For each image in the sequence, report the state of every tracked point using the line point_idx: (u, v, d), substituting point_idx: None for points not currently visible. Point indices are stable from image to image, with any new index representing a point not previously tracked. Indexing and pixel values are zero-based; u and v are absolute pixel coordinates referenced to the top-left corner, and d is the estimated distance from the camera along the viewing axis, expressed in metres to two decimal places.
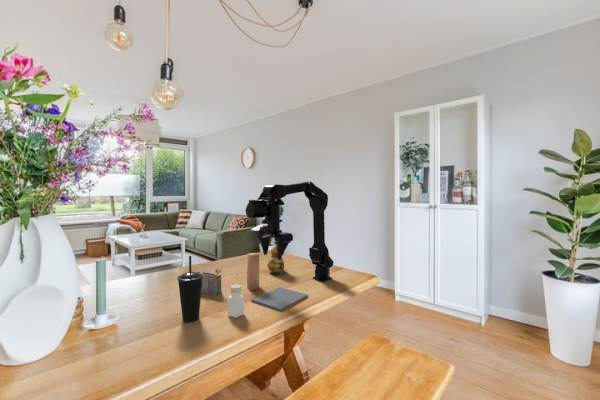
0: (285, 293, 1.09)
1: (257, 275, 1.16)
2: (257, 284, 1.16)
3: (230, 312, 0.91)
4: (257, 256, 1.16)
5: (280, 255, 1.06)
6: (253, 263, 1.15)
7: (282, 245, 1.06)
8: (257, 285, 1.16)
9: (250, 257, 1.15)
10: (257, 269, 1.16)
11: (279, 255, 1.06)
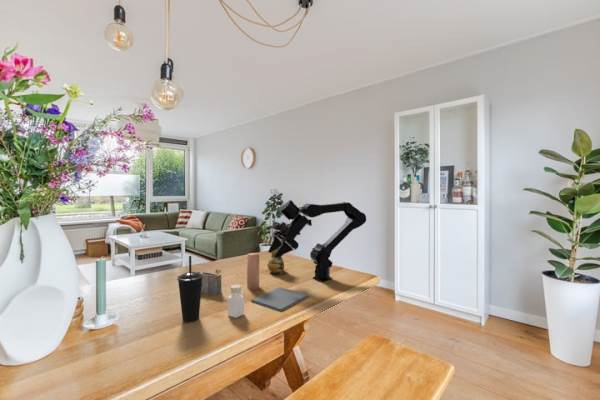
0: (285, 293, 1.09)
1: (257, 275, 1.16)
2: (257, 284, 1.16)
3: (230, 312, 0.91)
4: (257, 256, 1.16)
5: (278, 254, 1.15)
6: (253, 263, 1.15)
7: (285, 248, 1.16)
8: (257, 285, 1.16)
9: (250, 257, 1.15)
10: (257, 269, 1.16)
11: (277, 253, 1.15)
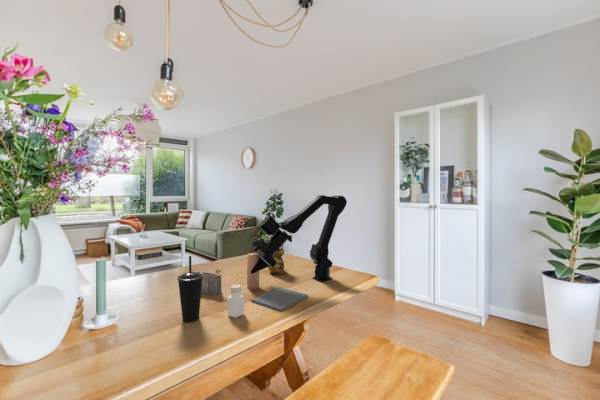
0: (285, 293, 1.09)
1: (257, 275, 1.16)
2: (257, 284, 1.16)
3: (230, 312, 0.91)
4: (257, 256, 1.16)
5: (254, 270, 1.14)
6: (253, 263, 1.15)
7: (261, 264, 1.15)
8: (257, 285, 1.16)
9: (250, 257, 1.15)
10: None
11: (253, 269, 1.14)
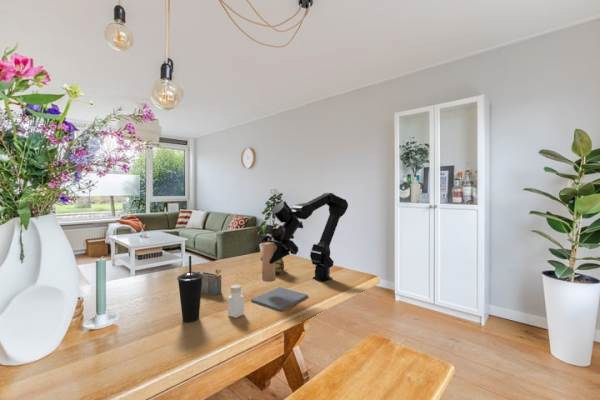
0: (285, 293, 1.09)
1: (274, 265, 1.08)
2: (274, 275, 1.08)
3: (230, 312, 0.91)
4: (274, 245, 1.07)
5: (273, 260, 1.06)
6: (271, 253, 1.06)
7: (280, 253, 1.07)
8: (274, 276, 1.08)
9: (268, 246, 1.06)
10: None
11: (272, 259, 1.05)
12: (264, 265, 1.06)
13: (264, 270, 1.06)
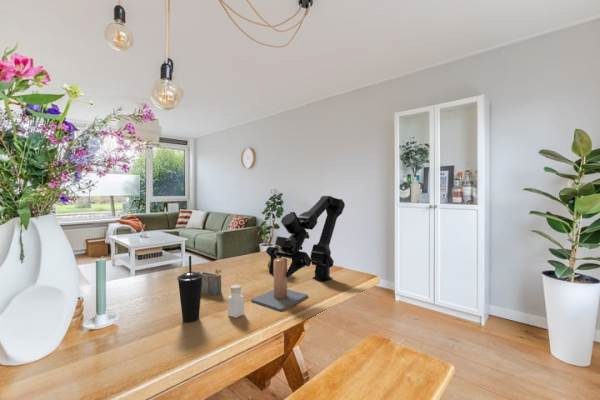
0: None
1: None
2: None
3: (230, 312, 0.91)
4: None
5: (289, 273, 1.02)
6: (284, 270, 1.03)
7: (295, 265, 1.04)
8: None
9: (281, 263, 1.02)
10: None
11: (288, 273, 1.02)
12: (277, 283, 1.03)
13: (277, 288, 1.03)
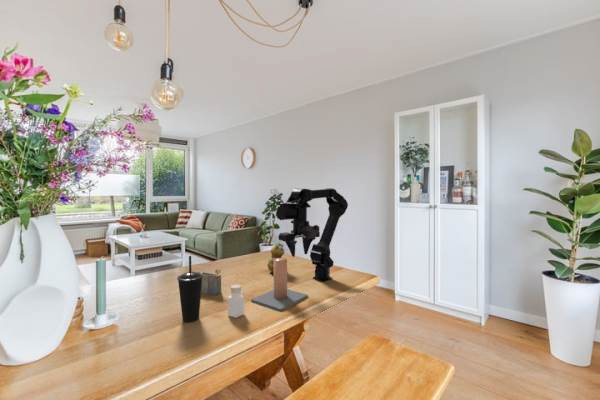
0: None
1: None
2: None
3: (230, 312, 0.91)
4: (286, 261, 1.05)
5: None
6: (284, 269, 1.03)
7: None
8: None
9: (281, 263, 1.03)
10: (286, 275, 1.05)
11: None
12: (277, 282, 1.03)
13: (277, 287, 1.03)
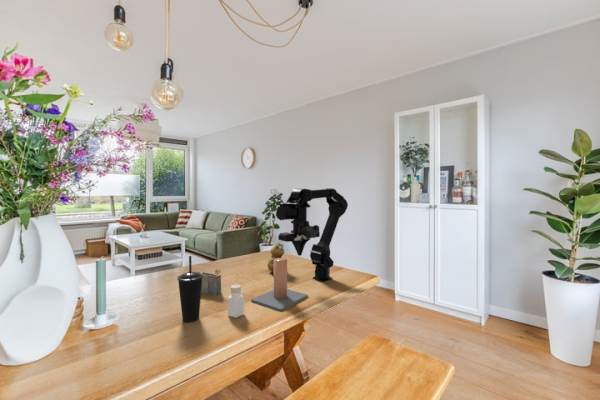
0: None
1: None
2: None
3: (230, 312, 0.91)
4: None
5: None
6: (284, 270, 1.03)
7: None
8: None
9: (281, 263, 1.02)
10: None
11: None
12: (277, 283, 1.03)
13: (277, 288, 1.03)
